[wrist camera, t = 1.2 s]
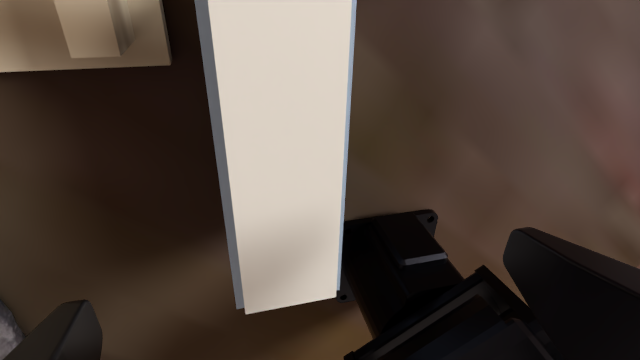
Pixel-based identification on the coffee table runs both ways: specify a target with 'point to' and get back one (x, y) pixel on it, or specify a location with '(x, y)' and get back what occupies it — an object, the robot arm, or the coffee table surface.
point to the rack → (82, 34)
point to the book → (280, 141)
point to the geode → (8, 331)
